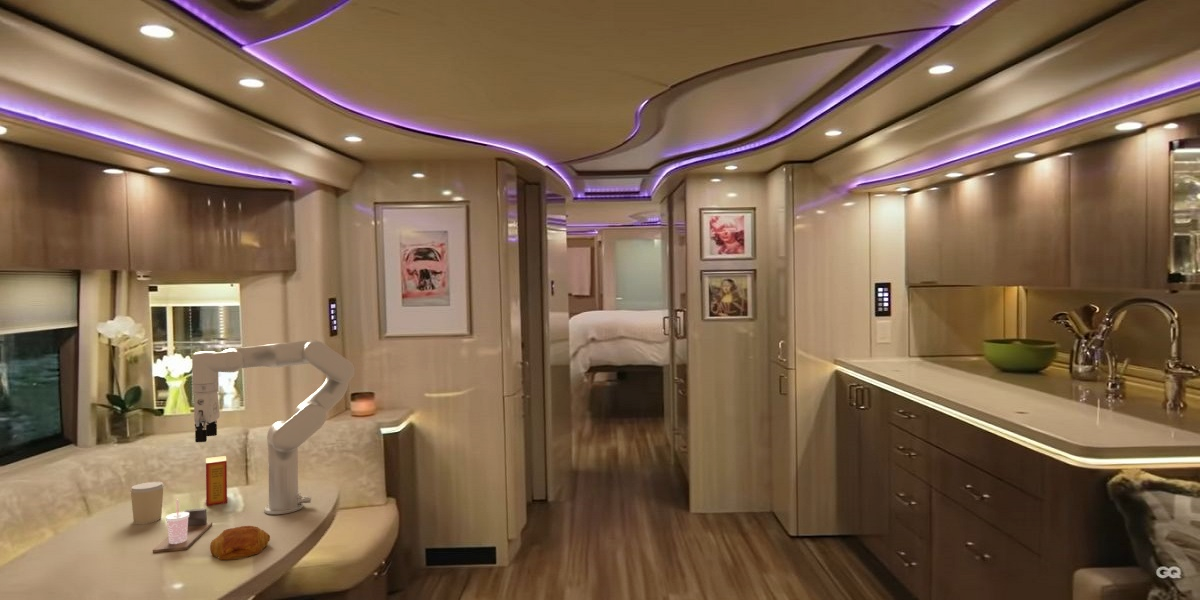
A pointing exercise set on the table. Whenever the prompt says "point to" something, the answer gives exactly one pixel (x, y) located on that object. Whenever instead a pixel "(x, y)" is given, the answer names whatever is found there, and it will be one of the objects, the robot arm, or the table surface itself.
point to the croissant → (239, 542)
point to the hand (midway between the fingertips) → (206, 438)
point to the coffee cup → (147, 502)
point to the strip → (195, 530)
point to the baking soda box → (216, 480)
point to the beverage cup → (177, 526)
